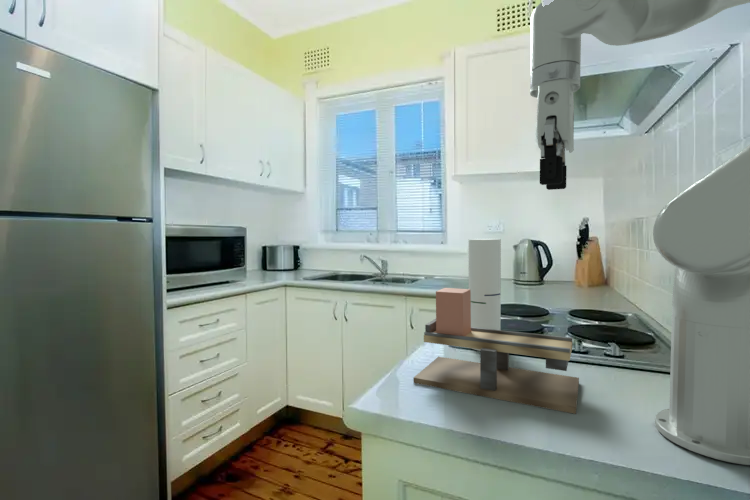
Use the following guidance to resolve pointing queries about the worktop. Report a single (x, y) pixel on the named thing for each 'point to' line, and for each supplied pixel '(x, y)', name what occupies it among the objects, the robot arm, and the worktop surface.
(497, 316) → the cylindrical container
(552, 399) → the stand
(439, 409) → the worktop surface
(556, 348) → the beam
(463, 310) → the block
